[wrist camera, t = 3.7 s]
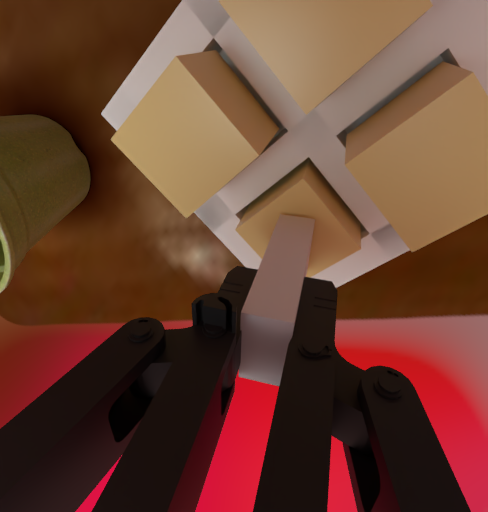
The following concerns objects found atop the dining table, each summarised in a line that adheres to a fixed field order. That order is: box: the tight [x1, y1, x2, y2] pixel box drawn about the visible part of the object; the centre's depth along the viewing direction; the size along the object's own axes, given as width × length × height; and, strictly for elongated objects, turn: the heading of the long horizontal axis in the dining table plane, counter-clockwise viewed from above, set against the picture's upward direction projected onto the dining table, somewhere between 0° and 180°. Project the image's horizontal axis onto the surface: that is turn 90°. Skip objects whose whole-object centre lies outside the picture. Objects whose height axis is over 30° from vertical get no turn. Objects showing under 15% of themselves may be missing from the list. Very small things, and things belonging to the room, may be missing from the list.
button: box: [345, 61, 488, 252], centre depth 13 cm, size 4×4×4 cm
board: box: [101, 0, 488, 288], centre depth 16 cm, size 14×14×4 cm
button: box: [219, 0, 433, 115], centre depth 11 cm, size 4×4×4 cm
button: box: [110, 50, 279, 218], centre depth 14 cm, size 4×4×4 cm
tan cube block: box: [235, 157, 361, 277], centre depth 17 cm, size 4×4×4 cm
